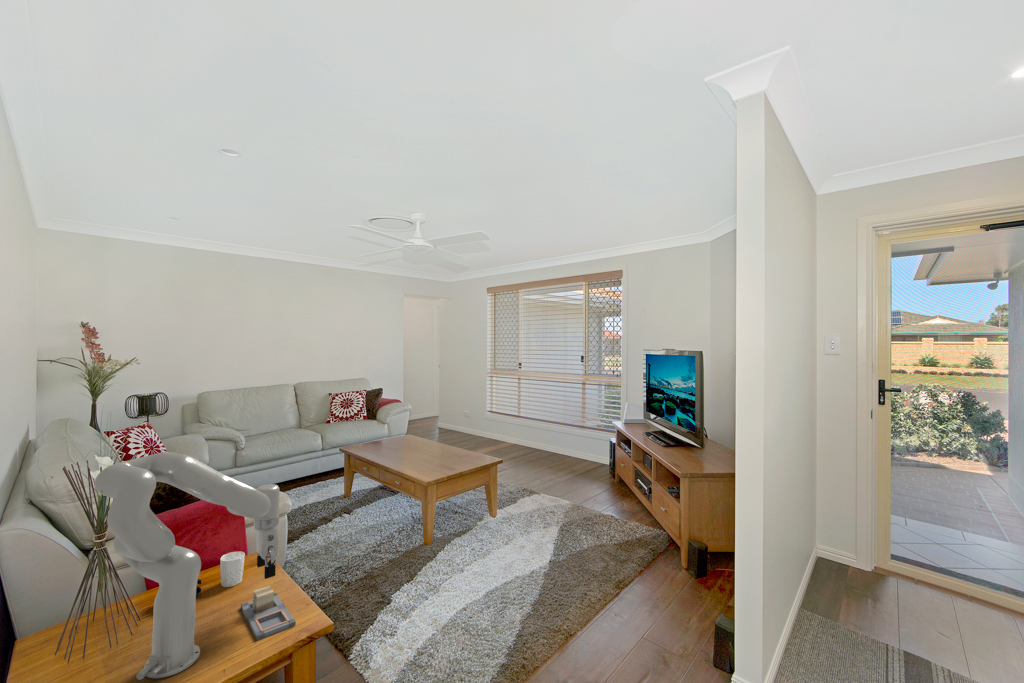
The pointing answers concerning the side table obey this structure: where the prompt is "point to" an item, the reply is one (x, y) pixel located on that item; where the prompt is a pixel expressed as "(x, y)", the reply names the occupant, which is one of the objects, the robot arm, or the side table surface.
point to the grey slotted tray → (268, 618)
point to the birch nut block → (263, 599)
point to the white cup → (232, 568)
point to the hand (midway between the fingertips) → (266, 571)
